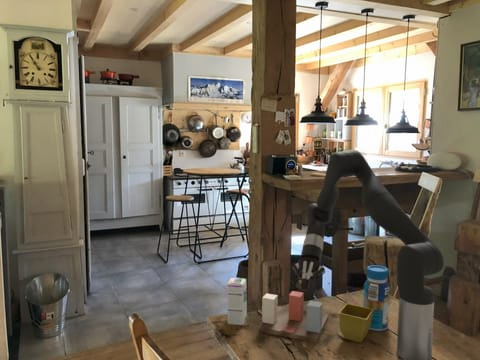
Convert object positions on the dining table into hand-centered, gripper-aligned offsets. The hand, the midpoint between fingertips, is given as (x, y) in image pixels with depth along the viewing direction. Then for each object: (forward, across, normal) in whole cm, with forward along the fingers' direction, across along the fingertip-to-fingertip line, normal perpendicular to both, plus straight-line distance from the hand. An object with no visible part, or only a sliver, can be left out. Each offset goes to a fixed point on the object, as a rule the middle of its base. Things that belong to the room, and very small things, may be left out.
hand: (304, 289), depth 151 cm
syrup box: (+18, -19, -7) cm, 27 cm away
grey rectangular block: (+16, +8, -8) cm, 20 cm away
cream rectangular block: (+16, -7, -8) cm, 19 cm away
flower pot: (+16, +20, -4) cm, 26 cm away
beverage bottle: (+8, +25, +3) cm, 26 cm away
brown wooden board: (+14, 0, -4) cm, 15 cm away
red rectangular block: (+12, 0, -4) cm, 13 cm away
